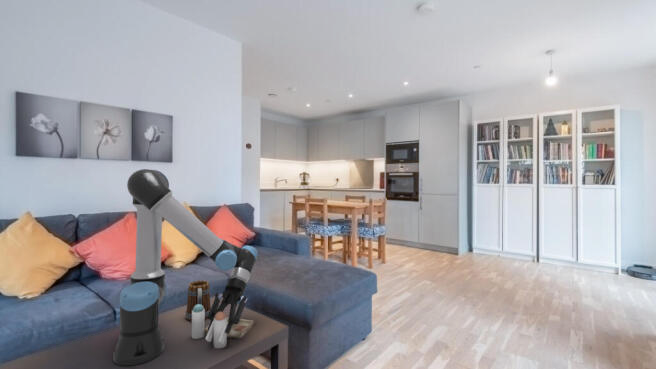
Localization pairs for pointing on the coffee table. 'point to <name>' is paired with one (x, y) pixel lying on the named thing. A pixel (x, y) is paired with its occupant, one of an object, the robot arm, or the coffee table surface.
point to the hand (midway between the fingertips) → (214, 341)
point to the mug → (198, 297)
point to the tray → (238, 328)
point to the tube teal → (198, 321)
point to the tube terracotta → (219, 329)
